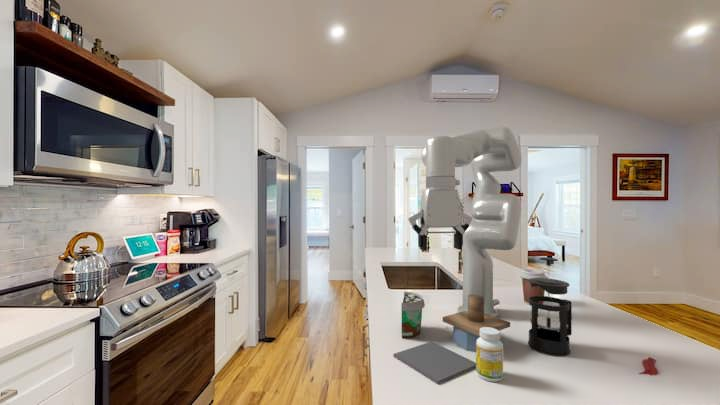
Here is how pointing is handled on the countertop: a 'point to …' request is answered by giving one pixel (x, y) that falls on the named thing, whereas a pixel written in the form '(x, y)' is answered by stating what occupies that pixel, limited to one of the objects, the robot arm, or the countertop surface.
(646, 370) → the cayenne pepper
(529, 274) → the coffee cup
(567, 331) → the french press
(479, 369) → the supplement bottle
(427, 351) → the mat
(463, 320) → the lid
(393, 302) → the countertop surface
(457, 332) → the bowl
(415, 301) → the food container
